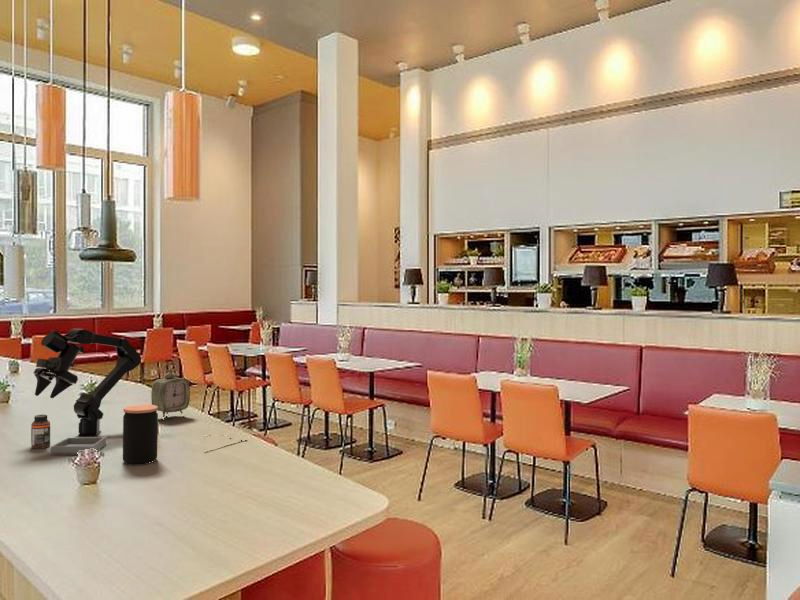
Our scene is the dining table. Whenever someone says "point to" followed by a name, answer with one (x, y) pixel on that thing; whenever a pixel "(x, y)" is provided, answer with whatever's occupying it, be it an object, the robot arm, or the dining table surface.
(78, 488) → the dining table surface
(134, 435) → the coffee jar
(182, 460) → the dining table surface
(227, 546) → the dining table surface
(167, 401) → the tabletop clock
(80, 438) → the tray
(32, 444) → the supplement bottle
